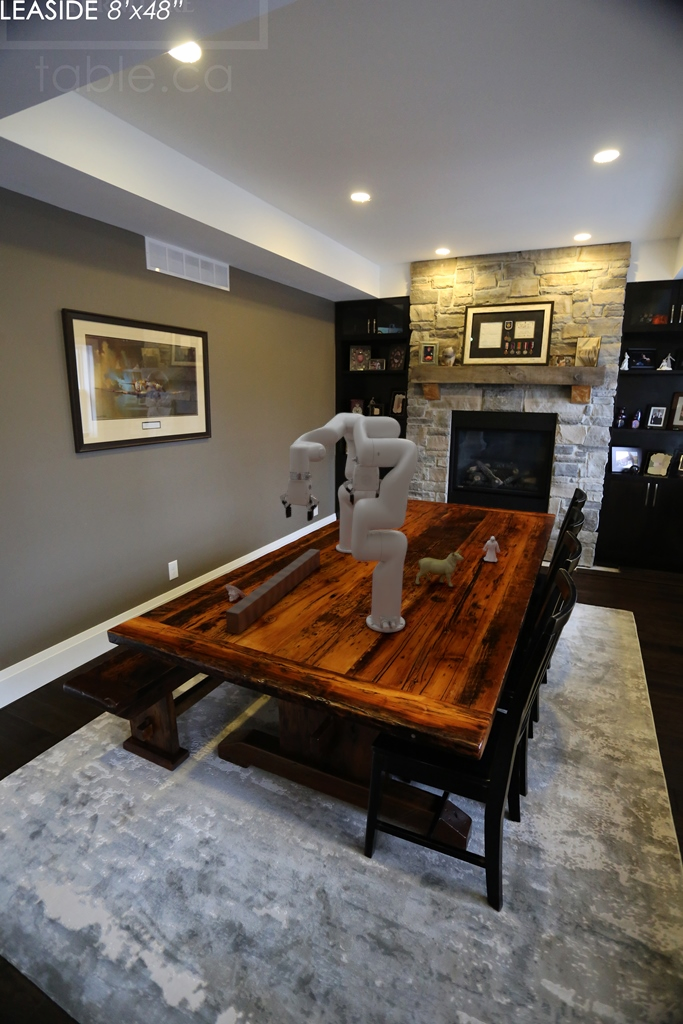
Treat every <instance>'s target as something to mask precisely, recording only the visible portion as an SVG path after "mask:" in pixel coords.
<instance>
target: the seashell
mask: <svg viewBox="0 0 683 1024" xmlns="http://www.w3.org/2000/svg"><path fill="white" fill-rule="evenodd" d="M224 587H225V589H226V591H227V592H228V596H229V597H228V601H229V602H234V601H236V600H237V599H239V598H245V597H246V596H247V595H246V593H245V592H244V591H243V590H241V589H240V588H239V587H237V586H235V585H231V584H226V585H224Z"/></svg>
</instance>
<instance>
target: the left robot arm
mask: <svg viewBox="0 0 683 1024" xmlns="http://www.w3.org/2000/svg"><path fill="white" fill-rule="evenodd" d="M360 417H366V416H365V415H363V414H361V413H357V412H355V413H353V412H339V413H337V414H335V416H333V417H332V418H331V419H329V421H328V422H327V423H325V425H323V426H321V427H319V428H315V429H313V430H310V431H307V432H305V433H304V434H301V436H299V437H298V438H297V439H296V440H295V441H293V443H292V444H290V446H289V478H288V480H287V484H286V491H285V492H286V493H284V494H282V495H279V499H280V501H281V504H282V505H283V507H284V509H285V518H286V519H289V518H291V517H292V505H294V506H301V507H305V508H306V509H307V510H308V511H307V512H306V514H307V515H306V521H307V522H311V521H312V520H313V519H314V511H315V510H316V509H317V507H318V506H319V504H320V499H318V498H316V497H315V496H314V489H313V483H312V480H311V479H312V477H313V474H311V473H310V462H311V463H319V462H321V461H322V460H324V459H325V457H326V455H327V449H326V447H327V446H331V445H332V446H333V445H335V444H337V442H338V441H340V440H341V439H342V438H344V440H345V443H346V445H347V458H346V461H345V462H346V463H345V467H344V468H345V470H344V476H345V478H346V479H347V480H350V479H352V477H353V469H354V464H356V462H354V461H353V460H352V459H353V458H355V457H356V447H355V442H354V435H353V429H354V425H355V422H356V421H357V419H359V418H360ZM378 471H379V472H380V467H378ZM347 486H348V488H349V489H350V490H351V489H352V488H353V487H352V483H350V484H348V485H347ZM353 494H354V505H352V504H351V502H350V494H349V493H348V492H347V491H346V489H345V487H344V485H343V484H341V485H340V486H339V487H338V491H337V496H338V502H339V542H338V543H339V544H336V546H335V550H336V551H337V552H339V553H343V554H352V553H351V538H352V523H353V511H354V507H355V504H356V502H357V501H359V500H360V499H365V498H375V495H376V491H357V490H356V491H355V492H354V493H353Z"/></svg>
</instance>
